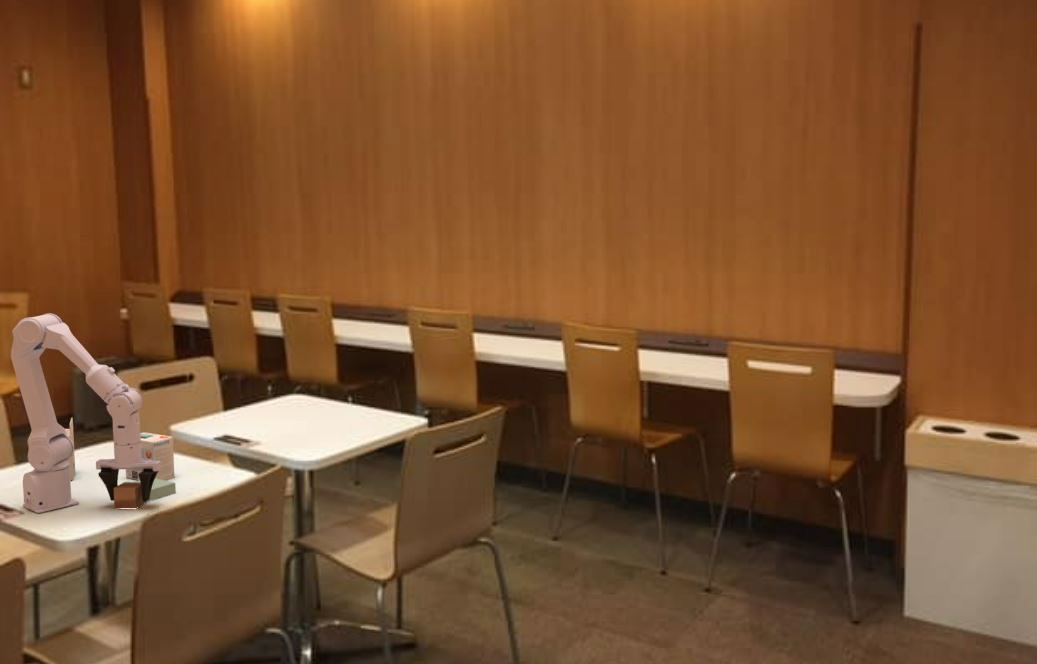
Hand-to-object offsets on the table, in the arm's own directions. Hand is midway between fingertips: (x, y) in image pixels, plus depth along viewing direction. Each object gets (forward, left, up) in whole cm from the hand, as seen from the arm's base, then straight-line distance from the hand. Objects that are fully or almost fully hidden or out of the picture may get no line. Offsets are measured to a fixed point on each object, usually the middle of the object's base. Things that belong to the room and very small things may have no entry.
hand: (130, 499), depth 219 cm
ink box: (+1, +35, -2) cm, 35 cm away
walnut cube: (0, 0, -2) cm, 2 cm away
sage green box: (+7, +5, -2) cm, 9 cm away
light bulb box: (+15, +18, -2) cm, 23 cm away
